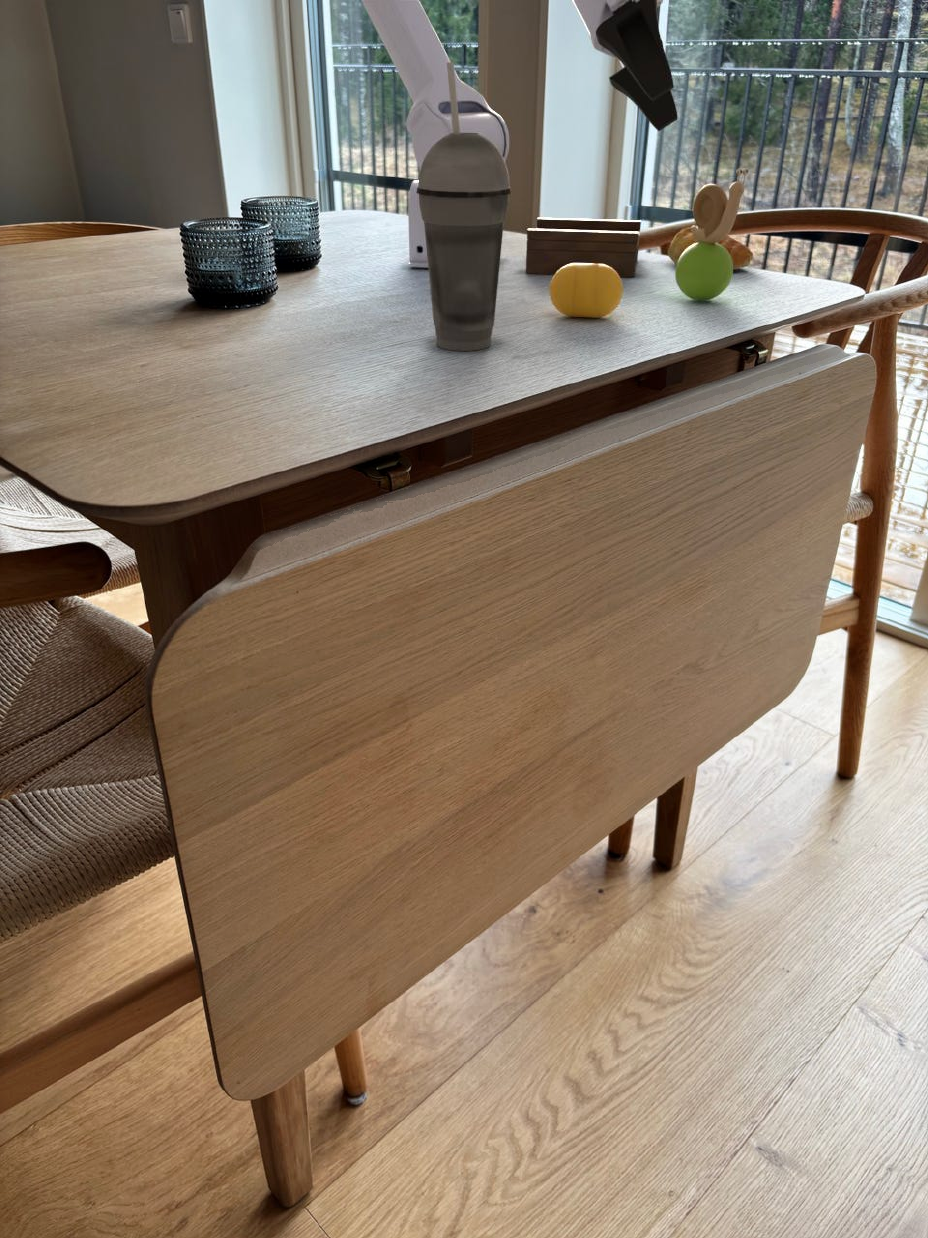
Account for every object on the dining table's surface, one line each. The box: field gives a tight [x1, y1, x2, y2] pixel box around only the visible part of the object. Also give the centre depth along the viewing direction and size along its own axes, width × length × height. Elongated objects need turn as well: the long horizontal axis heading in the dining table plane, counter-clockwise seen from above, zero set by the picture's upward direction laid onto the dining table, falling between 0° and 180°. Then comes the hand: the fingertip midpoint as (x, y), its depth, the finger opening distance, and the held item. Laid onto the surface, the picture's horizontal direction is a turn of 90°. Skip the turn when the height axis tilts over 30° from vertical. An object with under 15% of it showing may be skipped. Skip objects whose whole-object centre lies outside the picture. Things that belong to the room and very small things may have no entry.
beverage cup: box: [416, 61, 512, 352], centre depth 73 cm, size 7×7×20 cm
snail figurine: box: [674, 167, 749, 302], centre depth 89 cm, size 5×6×12 cm
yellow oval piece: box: [549, 263, 624, 319], centre depth 85 cm, size 7×5×5 cm
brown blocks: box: [525, 217, 642, 278], centre depth 107 cm, size 12×10×4 cm
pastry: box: [667, 226, 754, 270], centre depth 108 cm, size 9×7×4 cm
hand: (665, 109), depth 86 cm, fingers open, 7 cm apart
